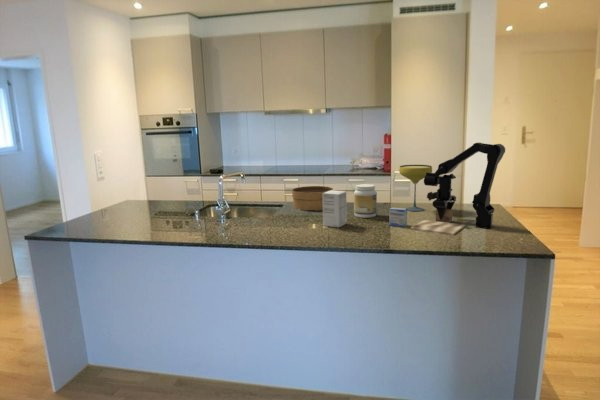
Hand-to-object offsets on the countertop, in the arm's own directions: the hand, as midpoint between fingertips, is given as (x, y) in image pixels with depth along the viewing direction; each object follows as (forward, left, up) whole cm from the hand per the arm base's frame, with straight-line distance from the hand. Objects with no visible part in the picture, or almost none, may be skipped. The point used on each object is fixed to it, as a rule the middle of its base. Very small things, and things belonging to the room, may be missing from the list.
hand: (444, 217), depth 214 cm
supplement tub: (+40, +9, -2) cm, 41 cm away
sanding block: (0, 0, -2) cm, 2 cm away
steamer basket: (+80, +2, -2) cm, 80 cm away
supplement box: (+44, +34, -2) cm, 56 cm away
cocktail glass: (+23, -19, -2) cm, 30 cm away
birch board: (-2, +15, -2) cm, 15 cm away
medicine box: (+16, +20, -2) cm, 26 cm away
